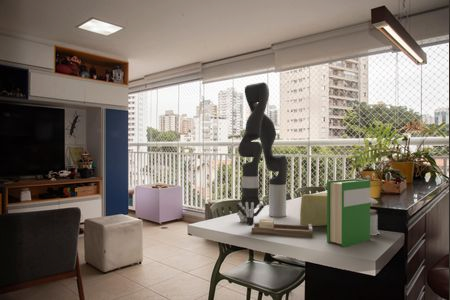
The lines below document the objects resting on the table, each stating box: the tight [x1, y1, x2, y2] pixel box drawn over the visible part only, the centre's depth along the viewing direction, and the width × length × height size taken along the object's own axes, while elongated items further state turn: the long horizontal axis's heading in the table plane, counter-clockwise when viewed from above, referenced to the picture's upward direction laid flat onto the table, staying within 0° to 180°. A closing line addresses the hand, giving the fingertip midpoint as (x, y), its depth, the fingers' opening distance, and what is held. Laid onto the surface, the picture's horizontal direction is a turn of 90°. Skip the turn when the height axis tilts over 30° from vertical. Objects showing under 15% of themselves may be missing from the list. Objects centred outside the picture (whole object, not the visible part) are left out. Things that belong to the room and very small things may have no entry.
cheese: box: [299, 192, 327, 227], centre depth 153 cm, size 22×10×15 cm, turn 110°
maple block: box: [258, 218, 275, 229], centre depth 139 cm, size 6×6×4 cm
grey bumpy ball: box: [236, 206, 251, 223], centre depth 158 cm, size 9×8×10 cm
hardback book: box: [326, 178, 371, 248], centre depth 125 cm, size 18×7×24 cm, turn 125°
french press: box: [365, 175, 381, 236], centre depth 140 cm, size 10×12×25 cm
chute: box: [250, 222, 314, 238], centre depth 137 cm, size 10×25×4 cm, turn 78°
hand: (250, 225), depth 140 cm, fingers closed
